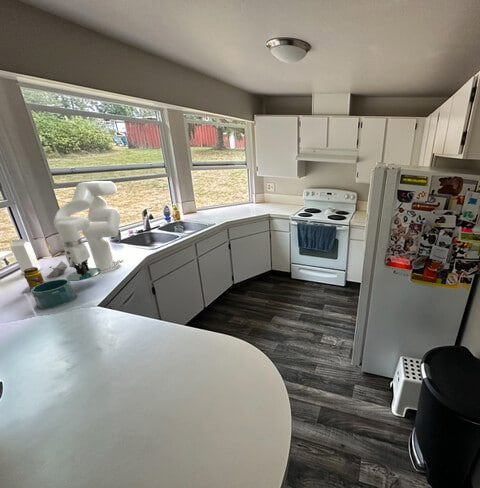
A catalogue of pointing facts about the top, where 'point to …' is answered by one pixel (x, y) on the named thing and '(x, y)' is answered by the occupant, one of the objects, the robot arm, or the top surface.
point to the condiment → (33, 277)
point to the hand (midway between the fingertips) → (83, 272)
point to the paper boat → (58, 269)
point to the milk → (24, 254)
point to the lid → (86, 275)
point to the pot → (53, 293)
